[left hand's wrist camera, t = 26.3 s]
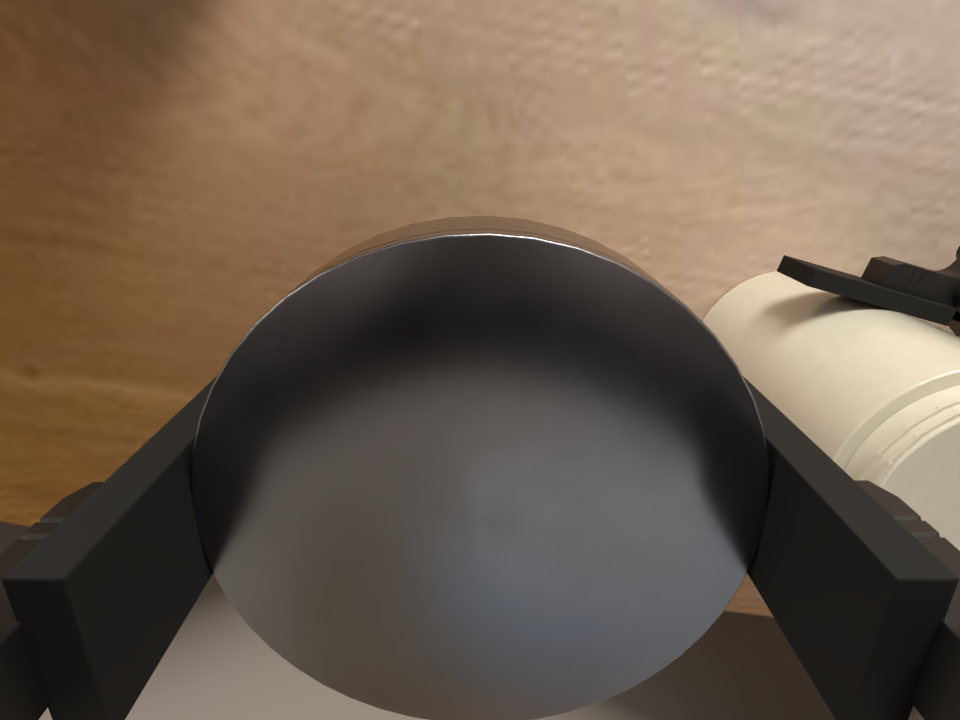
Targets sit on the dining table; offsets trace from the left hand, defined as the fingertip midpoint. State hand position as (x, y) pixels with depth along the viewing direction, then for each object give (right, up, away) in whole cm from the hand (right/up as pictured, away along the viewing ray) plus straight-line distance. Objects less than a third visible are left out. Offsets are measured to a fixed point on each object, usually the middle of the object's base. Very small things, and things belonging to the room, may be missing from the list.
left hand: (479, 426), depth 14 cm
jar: (+16, +2, +20) cm, 26 cm away
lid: (0, -1, -3) cm, 3 cm away
